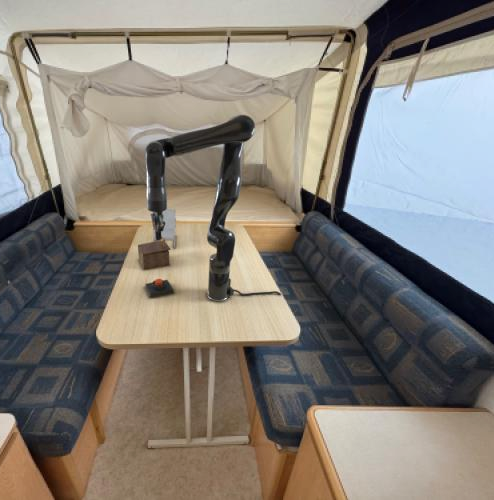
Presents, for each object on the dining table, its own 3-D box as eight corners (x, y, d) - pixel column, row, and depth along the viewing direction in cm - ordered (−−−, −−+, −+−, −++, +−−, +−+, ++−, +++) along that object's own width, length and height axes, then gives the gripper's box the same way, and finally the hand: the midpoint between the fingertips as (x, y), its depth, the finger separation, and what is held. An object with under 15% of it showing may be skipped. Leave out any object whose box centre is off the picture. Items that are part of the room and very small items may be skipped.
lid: (163, 241, 156) (163, 233, 153) (170, 249, 145) (169, 241, 143) (137, 246, 151) (136, 238, 148) (142, 255, 140) (141, 246, 138)
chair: (176, 235, 190) (175, 208, 182) (174, 249, 167) (174, 220, 159) (157, 234, 190) (156, 208, 181) (153, 249, 167) (151, 220, 159)
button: (161, 281, 127) (161, 278, 126) (163, 285, 124) (163, 281, 123) (154, 282, 126) (154, 279, 125) (156, 286, 123) (156, 283, 122)
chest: (162, 256, 160) (162, 242, 156) (169, 265, 149) (169, 251, 145) (138, 259, 154) (137, 246, 151) (143, 270, 144) (142, 255, 140)
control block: (167, 283, 132) (167, 276, 131) (173, 293, 125) (173, 285, 123) (145, 287, 128) (145, 280, 127) (150, 297, 121) (149, 290, 119)
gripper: (171, 201, 97) (172, 244, 105) (161, 193, 108) (162, 232, 116) (151, 202, 95) (153, 247, 102) (143, 194, 106) (145, 234, 113)
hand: (158, 239), depth 109 cm, fingers closed
